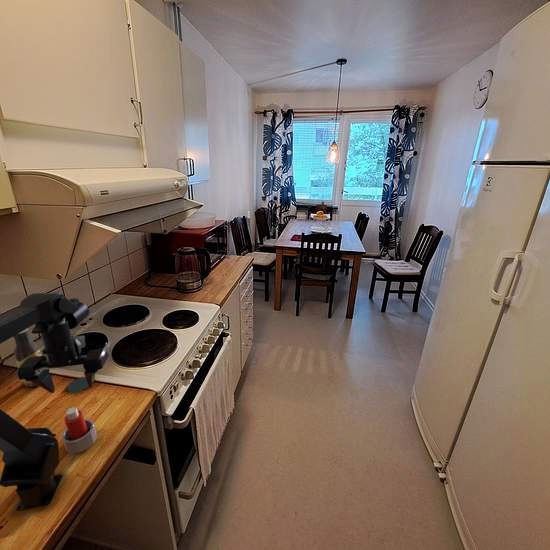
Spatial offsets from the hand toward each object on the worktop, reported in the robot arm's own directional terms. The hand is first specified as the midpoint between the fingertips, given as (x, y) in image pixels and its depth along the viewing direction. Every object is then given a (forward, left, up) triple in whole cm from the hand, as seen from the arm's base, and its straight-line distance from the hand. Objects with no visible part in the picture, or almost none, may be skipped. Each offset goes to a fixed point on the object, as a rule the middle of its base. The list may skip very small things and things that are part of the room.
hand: (72, 389), depth 76 cm
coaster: (+17, +7, -13) cm, 23 cm away
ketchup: (-6, -2, -13) cm, 14 cm away
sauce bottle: (+22, +22, -13) cm, 34 cm away
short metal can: (-6, -2, -13) cm, 15 cm away
